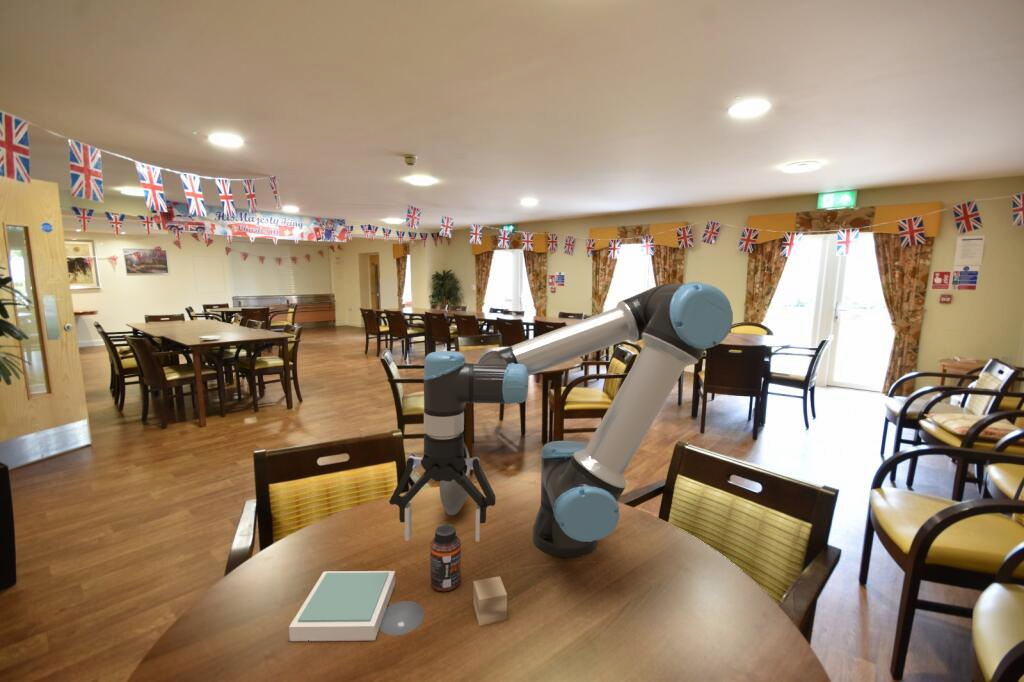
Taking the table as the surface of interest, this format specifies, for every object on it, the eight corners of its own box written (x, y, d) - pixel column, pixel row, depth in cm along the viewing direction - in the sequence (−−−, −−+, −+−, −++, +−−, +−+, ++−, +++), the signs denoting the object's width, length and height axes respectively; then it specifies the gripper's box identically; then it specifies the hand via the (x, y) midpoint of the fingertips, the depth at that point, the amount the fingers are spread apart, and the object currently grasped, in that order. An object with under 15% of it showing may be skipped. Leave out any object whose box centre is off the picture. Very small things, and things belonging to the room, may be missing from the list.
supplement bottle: (455, 595, 83) (454, 540, 81) (425, 590, 84) (424, 536, 82) (464, 575, 88) (464, 523, 87) (437, 571, 90) (436, 519, 88)
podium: (395, 583, 86) (395, 569, 85) (374, 640, 72) (374, 623, 72) (324, 583, 85) (323, 569, 85) (289, 641, 72) (288, 624, 71)
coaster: (427, 604, 81) (427, 600, 81) (419, 639, 73) (419, 634, 73) (384, 605, 81) (384, 601, 81) (371, 639, 73) (371, 635, 73)
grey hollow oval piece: (462, 530, 104) (461, 456, 102) (433, 529, 105) (432, 455, 103) (474, 494, 123) (474, 430, 120) (450, 493, 123) (449, 429, 121)
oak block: (499, 600, 81) (499, 576, 81) (506, 620, 77) (507, 594, 76) (473, 605, 80) (473, 581, 79) (479, 626, 75) (479, 600, 75)
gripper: (509, 427, 86) (506, 527, 89) (383, 425, 86) (384, 525, 88) (509, 440, 79) (506, 549, 81) (372, 438, 78) (373, 547, 81)
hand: (443, 537), depth 85 cm, fingers open, 13 cm apart
